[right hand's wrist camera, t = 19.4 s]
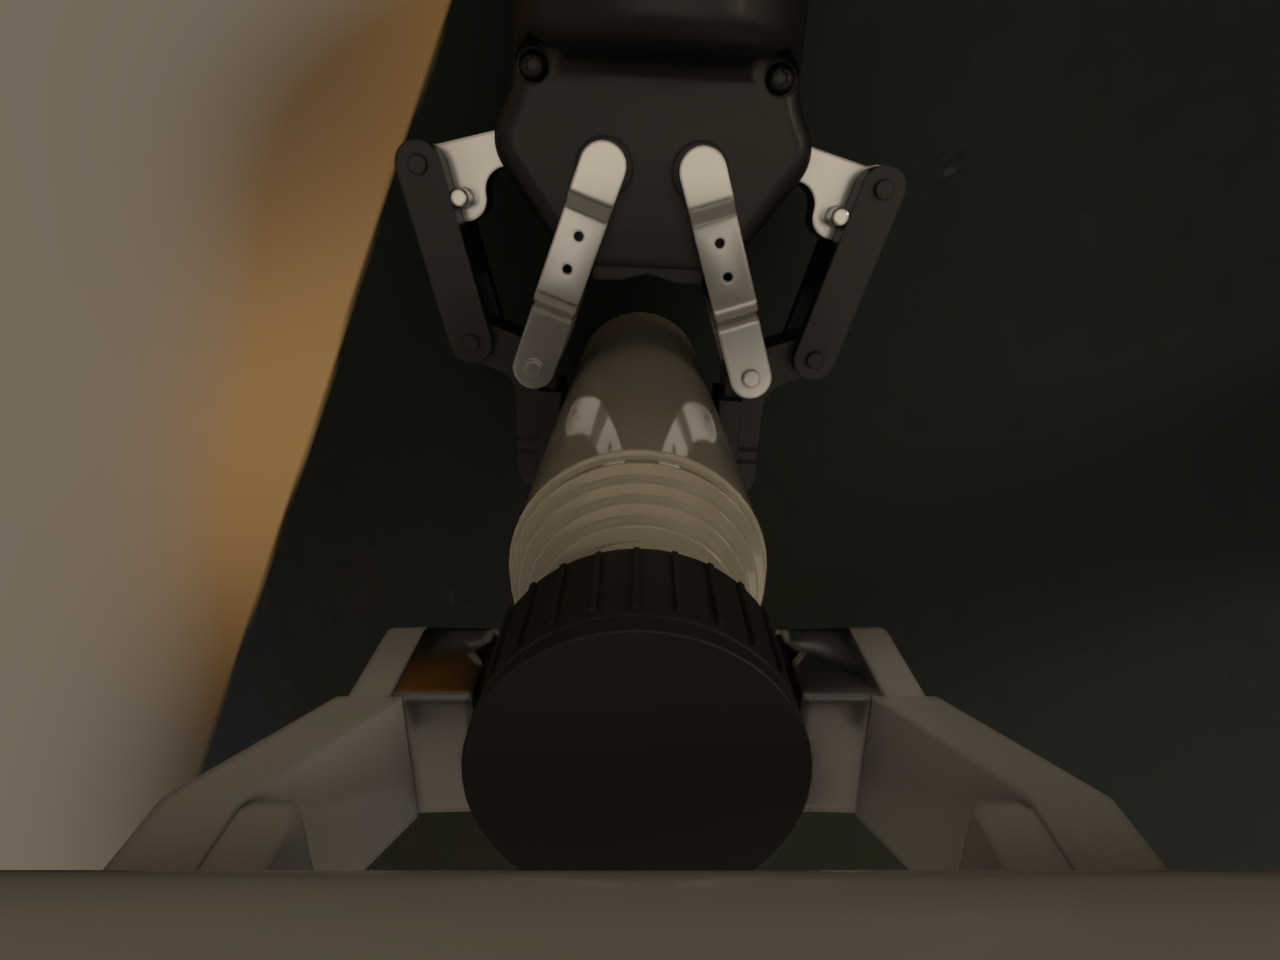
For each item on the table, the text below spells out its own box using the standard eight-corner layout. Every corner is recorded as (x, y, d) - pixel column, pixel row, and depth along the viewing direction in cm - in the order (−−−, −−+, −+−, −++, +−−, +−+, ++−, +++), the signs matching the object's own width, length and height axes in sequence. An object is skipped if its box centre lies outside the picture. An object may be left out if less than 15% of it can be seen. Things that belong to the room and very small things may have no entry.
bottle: (602, 442, 30) (527, 919, 10) (563, 333, 28) (381, 641, 8) (711, 408, 29) (863, 840, 9) (678, 295, 28) (776, 529, 8)
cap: (795, 542, 9) (833, 625, 8) (775, 791, 11) (803, 911, 9) (477, 542, 9) (438, 625, 8) (500, 791, 11) (473, 911, 9)
